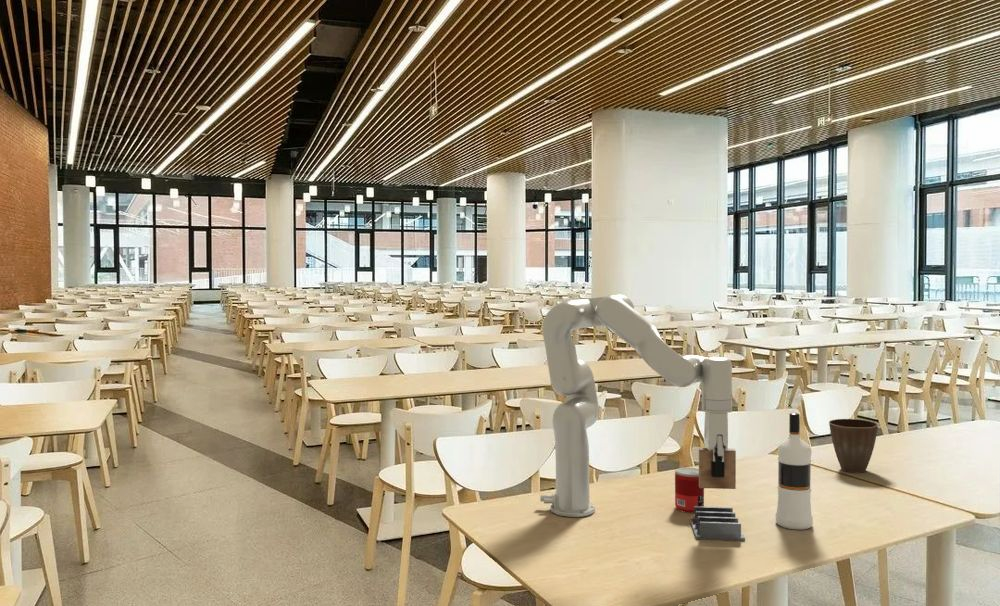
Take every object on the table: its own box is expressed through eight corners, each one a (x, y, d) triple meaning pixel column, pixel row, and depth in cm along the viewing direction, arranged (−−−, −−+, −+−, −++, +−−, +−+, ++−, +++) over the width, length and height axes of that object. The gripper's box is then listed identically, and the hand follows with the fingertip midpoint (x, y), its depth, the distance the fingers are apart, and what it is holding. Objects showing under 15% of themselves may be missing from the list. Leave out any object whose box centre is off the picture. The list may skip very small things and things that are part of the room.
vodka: (767, 522, 204) (768, 411, 203) (793, 517, 208) (793, 408, 207) (795, 533, 196) (795, 417, 194) (820, 527, 200) (821, 414, 198)
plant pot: (847, 477, 247) (848, 428, 246) (819, 465, 261) (819, 419, 261) (887, 474, 250) (888, 426, 249) (857, 463, 264) (858, 417, 264)
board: (699, 488, 197) (699, 449, 196) (698, 485, 199) (698, 447, 198) (735, 489, 195) (735, 450, 195) (734, 486, 198) (734, 448, 197)
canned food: (704, 514, 212) (704, 475, 211) (675, 512, 213) (675, 473, 213) (703, 505, 219) (703, 468, 219) (674, 504, 221) (674, 466, 220)
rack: (696, 539, 192) (696, 522, 192) (690, 521, 205) (690, 506, 205) (745, 541, 190) (745, 524, 190) (736, 523, 203) (736, 507, 203)
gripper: (698, 399, 205) (698, 467, 205) (705, 410, 189) (706, 483, 190) (726, 400, 204) (726, 467, 204) (737, 410, 188) (737, 484, 189)
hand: (717, 474), depth 197 cm, fingers closed on board, 2 cm apart
